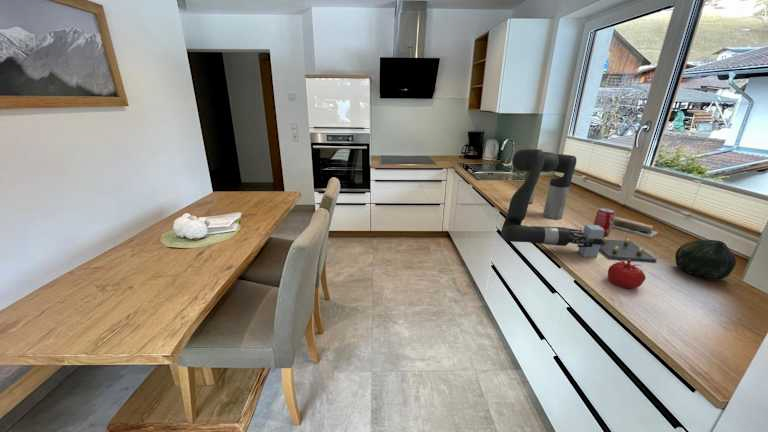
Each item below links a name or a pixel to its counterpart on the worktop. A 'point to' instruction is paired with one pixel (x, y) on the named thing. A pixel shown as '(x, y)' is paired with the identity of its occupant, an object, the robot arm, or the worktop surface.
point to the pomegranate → (626, 275)
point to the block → (593, 233)
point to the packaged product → (633, 227)
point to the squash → (706, 259)
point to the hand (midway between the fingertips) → (598, 239)
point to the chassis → (624, 250)
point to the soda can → (605, 219)
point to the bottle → (533, 190)
